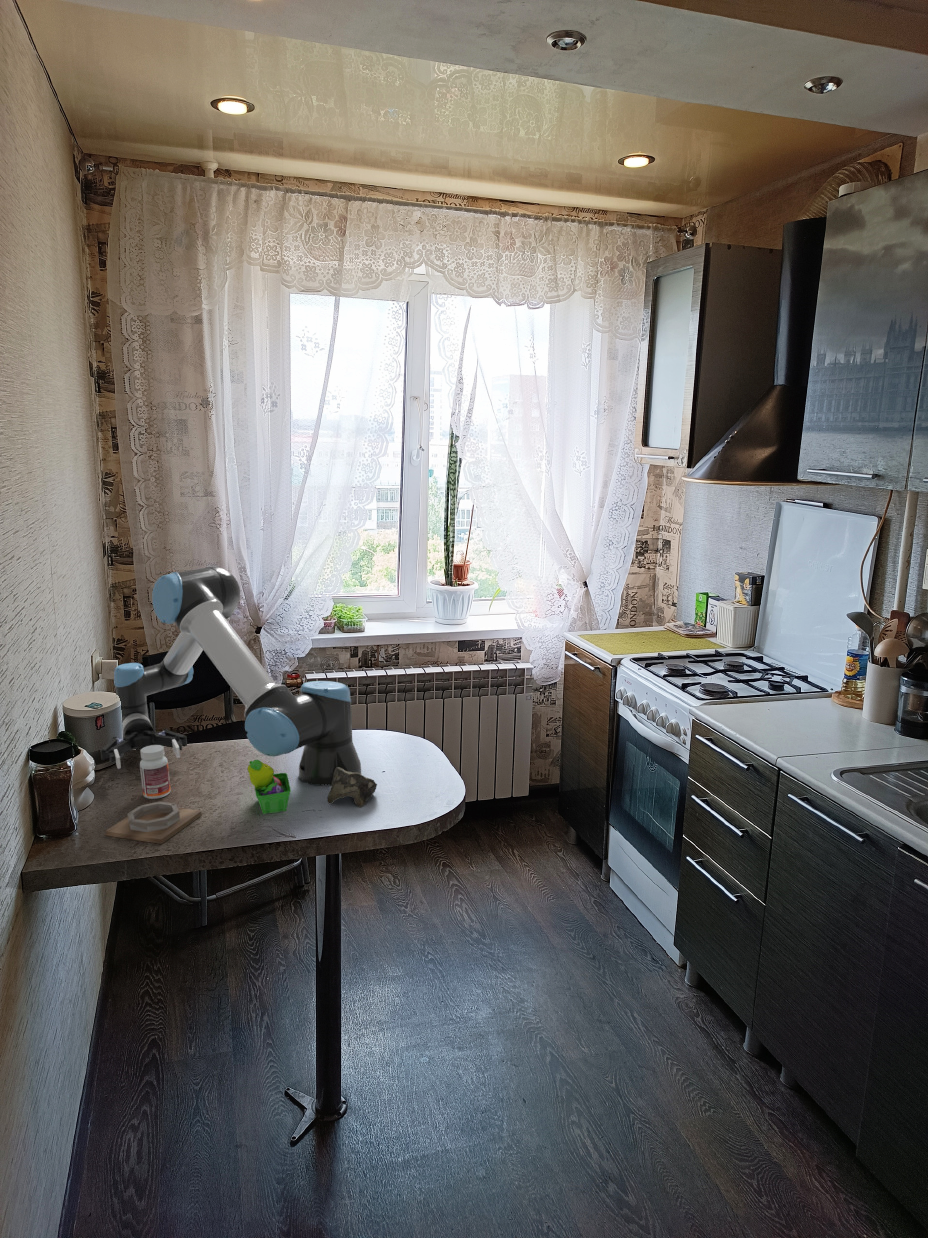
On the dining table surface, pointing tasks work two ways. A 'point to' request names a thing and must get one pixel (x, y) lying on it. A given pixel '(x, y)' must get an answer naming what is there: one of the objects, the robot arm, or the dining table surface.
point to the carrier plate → (154, 834)
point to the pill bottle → (154, 772)
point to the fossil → (351, 786)
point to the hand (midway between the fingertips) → (148, 758)
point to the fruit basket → (269, 787)
